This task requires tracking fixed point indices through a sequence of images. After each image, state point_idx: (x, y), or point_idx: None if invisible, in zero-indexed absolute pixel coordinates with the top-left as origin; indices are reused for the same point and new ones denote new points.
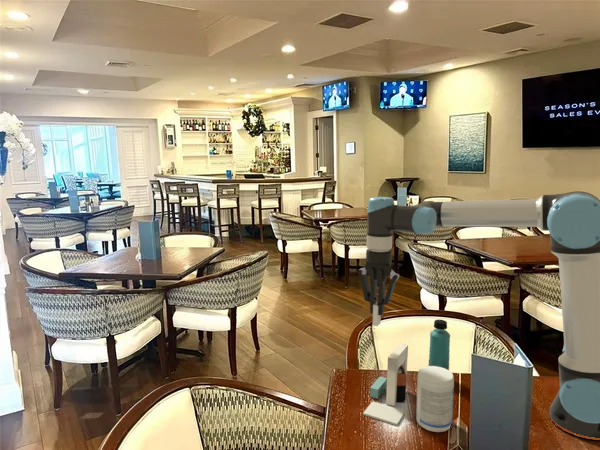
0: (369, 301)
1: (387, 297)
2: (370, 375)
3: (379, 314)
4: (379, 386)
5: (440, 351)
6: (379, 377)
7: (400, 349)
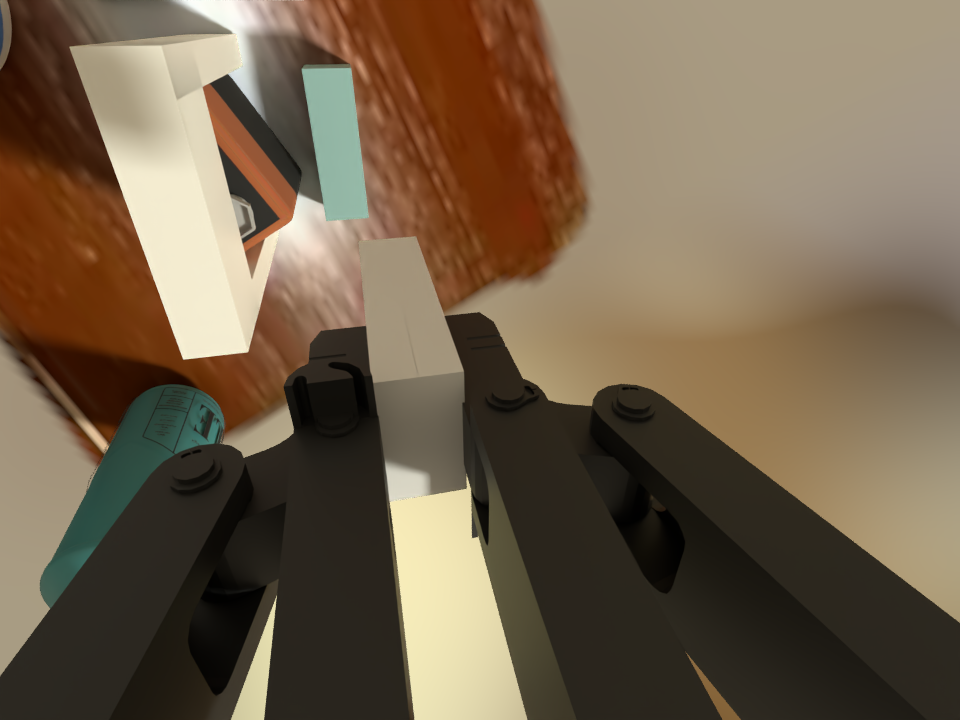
0: (560, 412)
1: (104, 600)
2: (442, 260)
3: (350, 333)
4: (314, 110)
5: (101, 485)
6: (364, 206)
7: (175, 258)
